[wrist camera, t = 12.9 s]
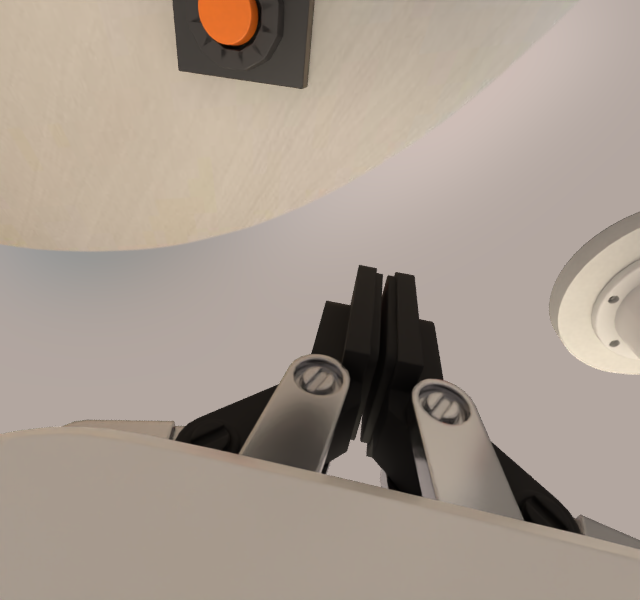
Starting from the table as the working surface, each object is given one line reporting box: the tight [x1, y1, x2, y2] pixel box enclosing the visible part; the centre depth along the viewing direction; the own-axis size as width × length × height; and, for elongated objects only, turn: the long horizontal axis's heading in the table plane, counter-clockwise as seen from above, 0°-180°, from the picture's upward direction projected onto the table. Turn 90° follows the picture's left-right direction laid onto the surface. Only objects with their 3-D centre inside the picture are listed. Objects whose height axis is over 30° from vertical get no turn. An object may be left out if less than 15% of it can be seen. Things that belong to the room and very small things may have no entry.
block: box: [173, 0, 314, 89], centre depth 26 cm, size 10×8×4 cm
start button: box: [198, 0, 258, 45], centre depth 24 cm, size 4×4×2 cm
